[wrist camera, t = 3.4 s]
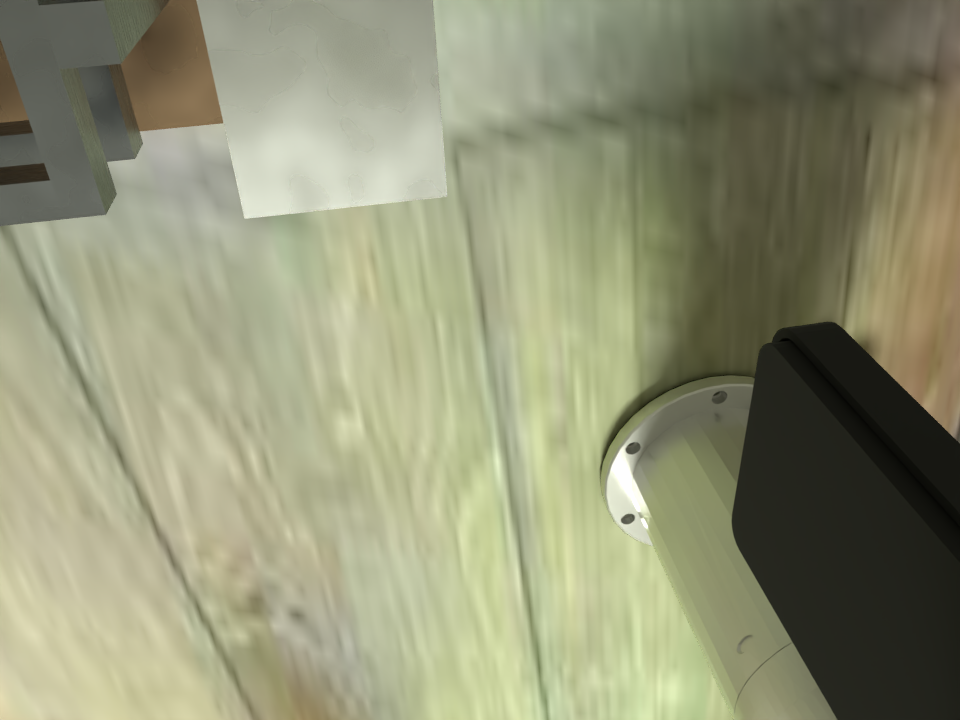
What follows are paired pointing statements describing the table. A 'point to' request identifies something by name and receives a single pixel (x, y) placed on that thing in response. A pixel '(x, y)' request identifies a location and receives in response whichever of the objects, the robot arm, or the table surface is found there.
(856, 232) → the table surface
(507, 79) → the table surface
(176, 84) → the collar rack
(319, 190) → the white block
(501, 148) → the table surface
